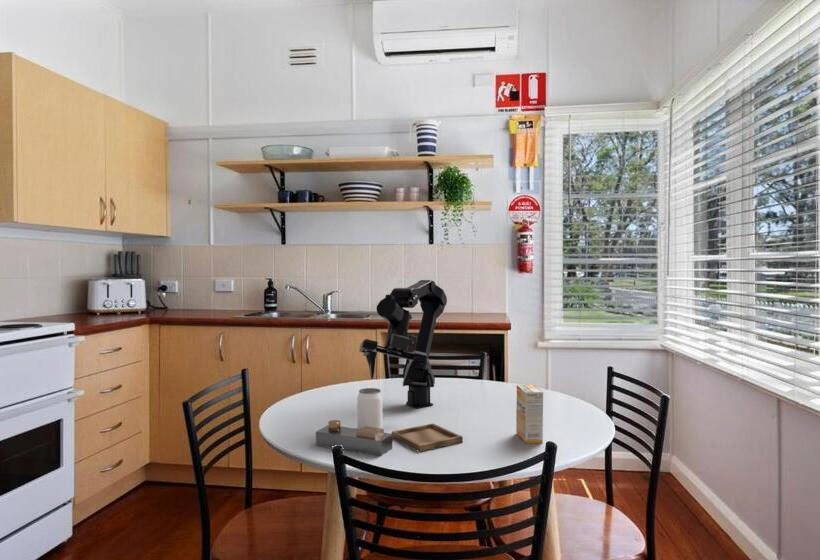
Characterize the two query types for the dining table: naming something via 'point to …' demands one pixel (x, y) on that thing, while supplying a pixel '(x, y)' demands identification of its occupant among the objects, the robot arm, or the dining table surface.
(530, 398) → the supplement box
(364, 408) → the can
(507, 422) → the dining table surface
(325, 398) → the dining table surface
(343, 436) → the iron block
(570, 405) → the dining table surface
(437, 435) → the walnut tray
